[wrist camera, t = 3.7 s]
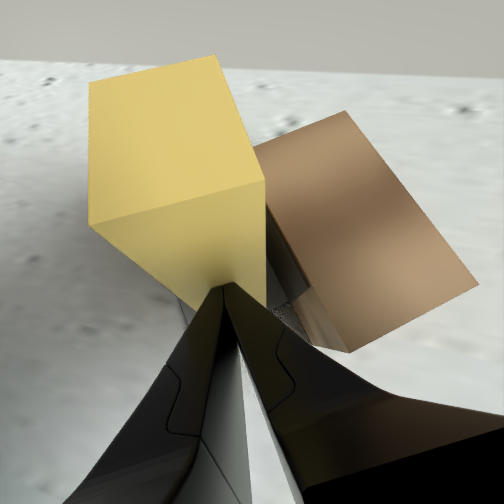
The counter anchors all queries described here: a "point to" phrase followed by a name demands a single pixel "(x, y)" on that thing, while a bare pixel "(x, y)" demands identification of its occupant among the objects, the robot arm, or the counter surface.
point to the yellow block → (177, 179)
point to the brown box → (350, 237)
